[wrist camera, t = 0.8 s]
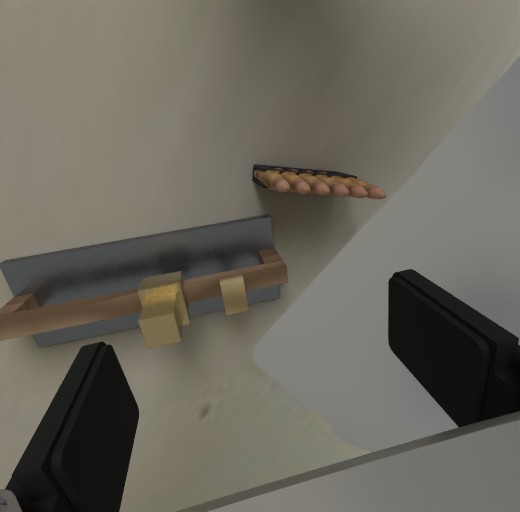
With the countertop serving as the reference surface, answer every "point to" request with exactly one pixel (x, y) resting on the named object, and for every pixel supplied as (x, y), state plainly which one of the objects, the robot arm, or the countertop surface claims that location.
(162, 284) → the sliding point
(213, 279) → the bar
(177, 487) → the countertop surface
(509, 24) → the countertop surface
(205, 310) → the bolt-hole plate
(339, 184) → the ammunition clip
